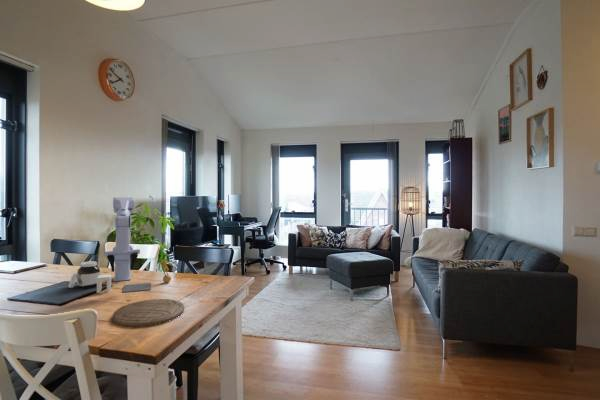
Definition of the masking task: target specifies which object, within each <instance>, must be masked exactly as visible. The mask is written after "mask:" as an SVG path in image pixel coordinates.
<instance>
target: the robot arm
mask: <svg viewBox="0 0 600 400" xmlns="http://www.w3.org/2000/svg"><path fill="white" fill-rule="evenodd" d="M112 199H113V200H112V208H113V213H114V214H116V216H115V218H114V227H115V246H114V247H113V248H112V250H109V251H104V253H103V256H104V257H106V259H107V260H108V262H109V265H110V267H111V268H110V269H111V272H114V278H113V280H112V281H113V282H120V281H130V280H131V279H132V275H133V274H131V271H133V269H134V265H135V263H136V260H137V259H138V256H139V254H141V249H139V248H138V249H137V248H136V249H134V248H133V246H132V245H131V241H130V239H131V232H130V231H131V227H132V217H131V214H133V213H134V208H135V198H134V197H123V196H121V197H116V196H114V197H113V198H112Z"/></svg>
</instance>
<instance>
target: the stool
mask: <svg viewBox="0 0 600 400" xmlns="http://www.w3.org/2000/svg"><path fill="white" fill-rule="evenodd" d="M102 281H106V292H107V293H110V292H111V290H112V274H100V275H99V276H98V277H97V286H96V294H100V293H101V291H102V285H103V284H102V283H103V282H102Z"/></svg>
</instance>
